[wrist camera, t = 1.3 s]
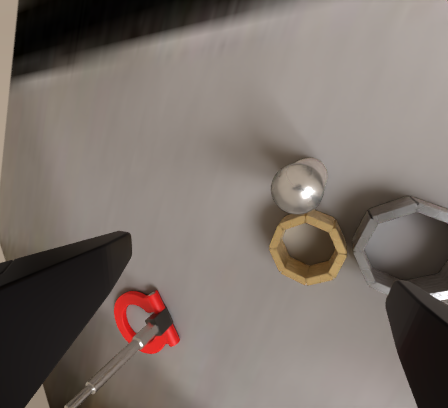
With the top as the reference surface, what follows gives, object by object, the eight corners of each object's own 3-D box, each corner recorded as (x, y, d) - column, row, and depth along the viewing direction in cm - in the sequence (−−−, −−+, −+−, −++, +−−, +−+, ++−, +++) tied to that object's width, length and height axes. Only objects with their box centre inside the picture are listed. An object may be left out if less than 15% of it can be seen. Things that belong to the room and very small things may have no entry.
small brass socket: (355, 226, 22) (357, 236, 19) (327, 280, 23) (325, 295, 21) (290, 199, 23) (285, 206, 21) (268, 253, 25) (261, 264, 23)
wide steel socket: (486, 222, 18) (506, 234, 16) (430, 300, 21) (441, 320, 18) (380, 185, 20) (385, 190, 18) (340, 260, 23) (340, 273, 20)
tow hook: (137, 349, 37) (186, 344, 32) (40, 445, 25) (95, 458, 21) (111, 295, 36) (157, 281, 32) (1, 367, 25) (49, 362, 20)
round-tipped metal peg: (334, 164, 21) (332, 174, 15) (319, 199, 22) (311, 222, 16) (297, 152, 22) (281, 156, 16) (284, 186, 23) (264, 202, 17)
